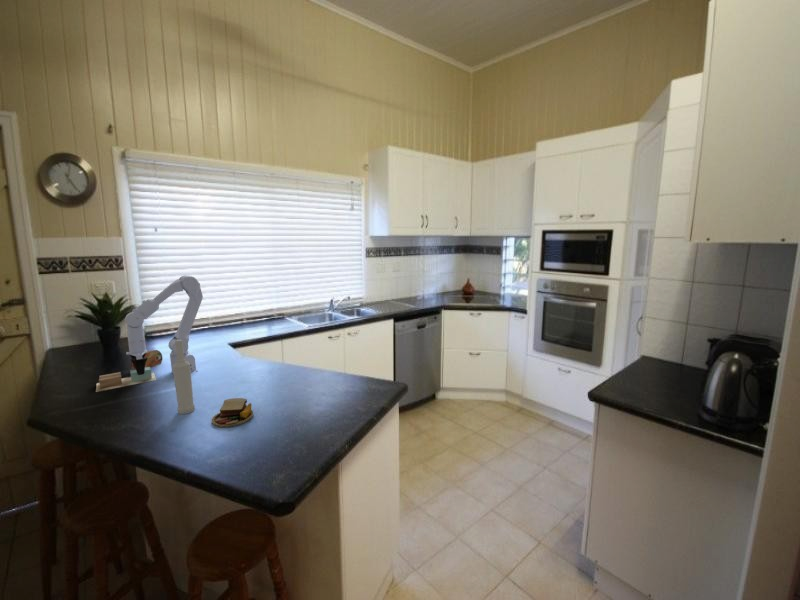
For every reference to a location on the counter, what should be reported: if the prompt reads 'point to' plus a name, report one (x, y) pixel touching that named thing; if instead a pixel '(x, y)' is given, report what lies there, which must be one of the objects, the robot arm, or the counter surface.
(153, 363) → the tin
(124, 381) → the birch board
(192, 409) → the bottle
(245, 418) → the toy sandwich meal
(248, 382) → the counter surface
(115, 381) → the walnut block
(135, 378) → the teal brick
